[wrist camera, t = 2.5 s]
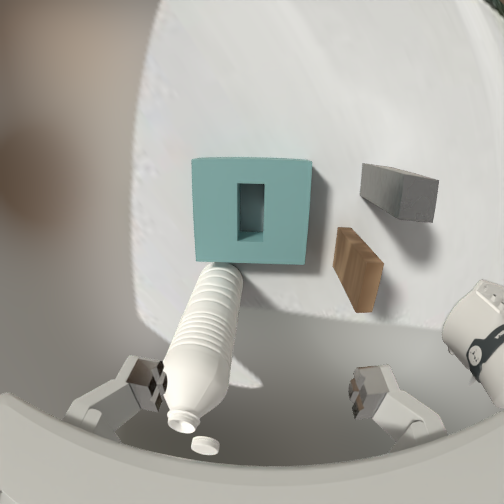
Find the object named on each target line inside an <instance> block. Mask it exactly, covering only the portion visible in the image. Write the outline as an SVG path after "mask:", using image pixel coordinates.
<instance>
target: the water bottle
mask: <svg viewBox="0 0 504 504" xmlns="http://www.w3.org/2000/svg"><path fill="white" fill-rule="evenodd" d="M242 288H243V278H242V276H241V273H240V272H239V270H238V269H237V268H236V267H234V266H233V265H231V264H229V263H226V262H214V263H211V264H209V265H208V266H206V267H205V268H204V269H203V271H202V272H201V275H200V277H199V279H198V281H197V284H196V286H195V288H194V290H193V293H192V295H191V297H190V299H189V302H188V304H187V306H186V309H185V311H184V313H183V315H182V318H181V320H180V323H179V325H178V328H177V330H176V333H175V335H174V337H173V339H172V342H171V344H170V347H169V349H168V352H167V354H166V356H165V358H164V360H163V364H164V369H163V371H164V372H165V373H166V375H167V381H168V383H167V389H166V392H165V394H163V395H164V398H165V400H166V402H167V404H168V406H169V409H170V411H169V412H168V413H167V416H168V418H169V419H168V425H169V426H170V427H171V428H173V429H174V430H176V431H179V432H182V433H192V432H194V431H195V430H196V427H197V426H198V425H199V424H200V420H199V418H201V417H202V416H203V415H205V414H206V413H208V412H209V411H210V410H212V409H213V408H214V407H216V406H217V405H218V404H219V403H220V402H221V401H222V400H223V398H224V397H225V395H226V393H227V390H228V386H229V377H230V370H231V362H232V355H233V348H234V341H235V336H236V329H237V322H238V315H239V308H240V300H241V294H242ZM194 439H195V440H194ZM206 439H207V440H206ZM210 440H211V441H210ZM213 441H214V442H213ZM215 442H216V443H215ZM191 448H192V449H193V450H194V451H195V452H198V453H201V454H205V455H214V454H217V453H218V450H219V442H218V441H217V440H215V439H212V438H209V437H204V436H197V437H194V438H193V440H192V445H191Z"/></svg>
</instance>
